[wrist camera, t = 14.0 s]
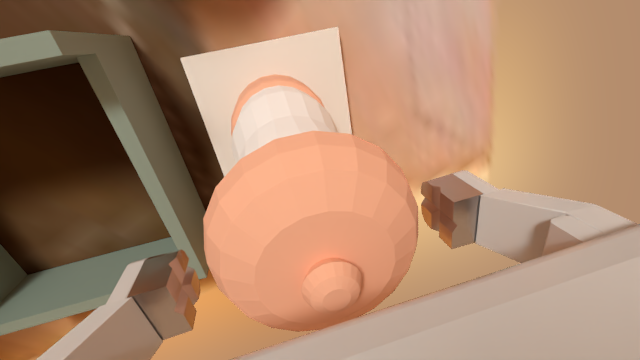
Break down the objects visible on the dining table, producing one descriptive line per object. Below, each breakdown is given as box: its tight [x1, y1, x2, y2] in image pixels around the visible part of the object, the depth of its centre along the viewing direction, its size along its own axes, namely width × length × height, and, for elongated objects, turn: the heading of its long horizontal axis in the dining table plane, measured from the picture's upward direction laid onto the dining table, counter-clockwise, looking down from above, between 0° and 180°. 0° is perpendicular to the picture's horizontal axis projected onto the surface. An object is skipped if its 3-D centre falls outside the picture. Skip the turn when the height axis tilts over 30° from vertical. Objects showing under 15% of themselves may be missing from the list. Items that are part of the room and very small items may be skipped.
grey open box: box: [0, 30, 209, 336], centre depth 19 cm, size 18×18×9 cm
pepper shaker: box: [203, 74, 418, 331], centre depth 16 cm, size 7×7×19 cm
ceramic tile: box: [180, 27, 352, 177], centre depth 24 cm, size 12×12×1 cm
